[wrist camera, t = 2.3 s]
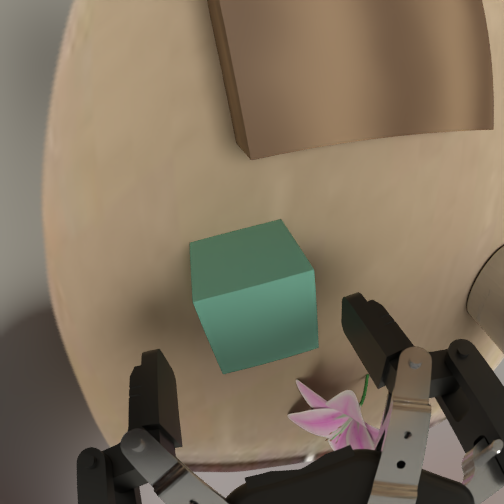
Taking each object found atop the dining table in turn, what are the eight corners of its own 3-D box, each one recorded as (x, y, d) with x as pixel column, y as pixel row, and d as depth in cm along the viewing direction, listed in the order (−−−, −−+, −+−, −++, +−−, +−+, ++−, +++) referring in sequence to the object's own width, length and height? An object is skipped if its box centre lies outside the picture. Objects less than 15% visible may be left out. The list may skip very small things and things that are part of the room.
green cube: (280, 218, 17) (313, 269, 12) (290, 289, 19) (318, 347, 15) (189, 241, 16) (192, 302, 12) (212, 310, 19) (223, 374, 15)
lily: (339, 315, 23) (316, 431, 16) (439, 364, 23) (438, 461, 16) (275, 372, 31) (247, 454, 24) (362, 407, 31) (348, 482, 24)
